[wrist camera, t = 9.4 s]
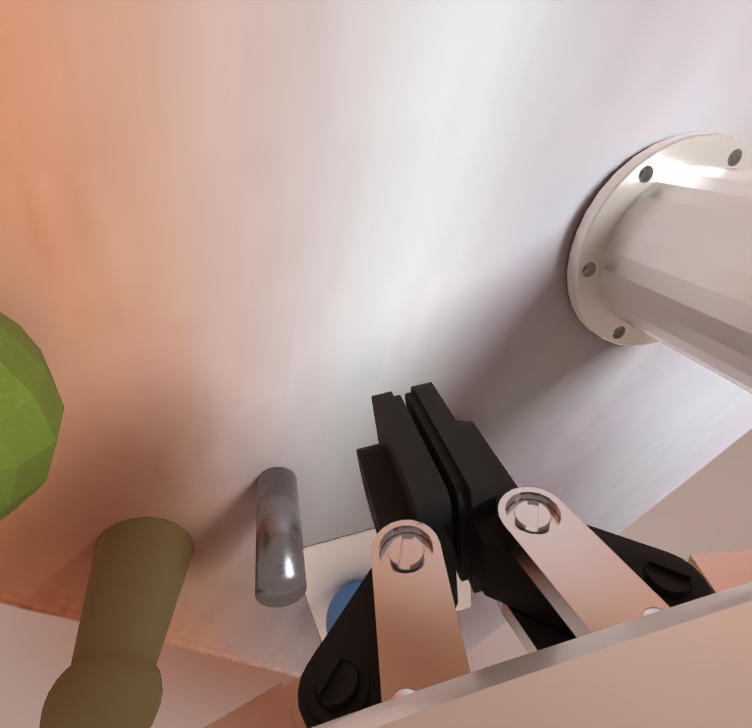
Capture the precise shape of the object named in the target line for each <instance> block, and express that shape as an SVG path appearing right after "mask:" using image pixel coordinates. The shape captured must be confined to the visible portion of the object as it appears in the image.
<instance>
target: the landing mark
mask: <svg viewBox="0 0 752 728" xmlns="http://www.w3.org/2000/svg"><path fill="white" fill-rule="evenodd" d="M376 535H377V533H376V530H375V528H374V529H370V530H367V531H363V532H360V533H356V534H352V535H349V536H345V537H341V538H338V539H334V540H331V541H327V542H323V543H320V544H316V545H313V546H309V547H305V548H303V553H304V563H305V573H306V584H307V589H306V592H305V595H306V598H307V600H308V603H309V606H310V609H311V612H312V615H313V617H314V620H315V623H316V626H317V629H318V632H319V634H320V637H321V640H322V641H323V640H324V638H325V637H326V635H327V630H326V615H327V611H328V607H329V605H330V602H331V600H332V599H333V597H334V596H335V594H336V593H337V592H338V591H339V590H340V589H341V588H342V587H344V586H346V585H347V584H349V583H352V582H355V581H363V579H364V578H365V576H366V575H367V573H368V572H369V570H370V569H371V567H372V560H371V548H372V543H373V541H374V539H375V536H376ZM456 574H457V572H456ZM457 591H458V604H457V606H456V612H457V611H460V610H464V609H467V608H470V607H471V588H470V583H469V581H468V580H466V581H461V580H460V578H459V576H458V574H457Z"/></svg>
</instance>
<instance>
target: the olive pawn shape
mask: <svg viewBox="0 0 752 728" xmlns="http://www.w3.org/2000/svg"><path fill="white" fill-rule="evenodd" d="M193 550H194V549H193V541H192V539H191V537H190V536H189V534H188V533H187V531H185V530H184V529H183V528H181V527H180V526H178V525H177V524H175V523H172V522H169V521H166V520H164V519H156V518H148V517H147V518H136V519H130V520H126V521H123V522H120V523H117V524H115V525H114V526H112V527H110V528H109V529H107V530H106V531H104V533H103V534H102V535H101V536H100V538H99V539H98V540H97V544H96V548H95V552H94V557H93V562H92V567H91V572H90V576H89V581H88V586H87V591H86V595H85V600H84V605H83V610H82V615H81V619H80V624H79V629H78V634H77V638H76V644H75V649H74V653H73V658H72V663H71V666H70V667H69V668H67V669H66V670H65V671H64V672H63V673H62V674H61V676H60V677H59V678H58V679H57V680H56V682H55V684H54V685H53V687H52V688H51V690H50V691H49V693H48V696H47V698H46V701H45V703H44V706H43V709H42V714H41V720H40V728H150V727H151V726H152V724H153V721H154V719H155V716H156V714H157V711H158V709H159V706H160V703H161V697H162V679H161V674H160V671H159V669H158V667H157V665H156V664H157V661H158V658H159V655H160V652H161V649H162V645H163V642H164V639H165V636H166V633H167V630H168V627H169V624H170V621H171V618H172V615H173V612H174V608H175V605H176V602H177V599H178V596H179V593H180V590H181V587H182V584H183V581H184V578H185V574H186V571H187V568H188V565H189V562H190V559H191V556H192V553H193Z"/></svg>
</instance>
